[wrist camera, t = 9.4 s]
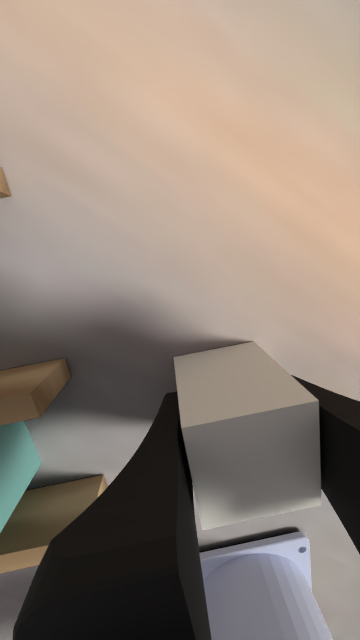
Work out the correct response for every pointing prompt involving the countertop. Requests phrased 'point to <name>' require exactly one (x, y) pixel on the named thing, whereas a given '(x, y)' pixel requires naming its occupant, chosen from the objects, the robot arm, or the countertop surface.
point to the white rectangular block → (247, 435)
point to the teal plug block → (15, 466)
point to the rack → (46, 502)
